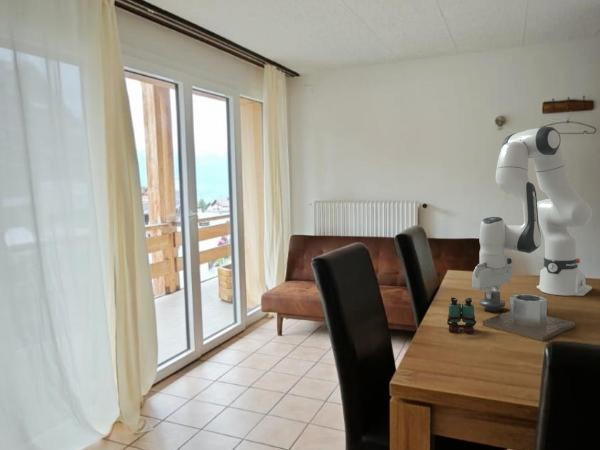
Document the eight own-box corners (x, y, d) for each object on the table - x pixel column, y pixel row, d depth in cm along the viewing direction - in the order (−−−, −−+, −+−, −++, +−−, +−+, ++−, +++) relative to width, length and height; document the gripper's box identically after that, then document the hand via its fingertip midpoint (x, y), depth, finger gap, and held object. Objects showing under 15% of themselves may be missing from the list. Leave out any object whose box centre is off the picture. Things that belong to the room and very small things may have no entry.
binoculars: (446, 306, 141) (447, 295, 151) (447, 337, 143) (447, 324, 153) (477, 307, 138) (475, 296, 148) (477, 339, 140) (475, 325, 150)
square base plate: (515, 313, 162) (515, 287, 161) (574, 326, 145) (575, 298, 144) (482, 325, 151) (482, 297, 150) (542, 341, 134) (542, 310, 133)
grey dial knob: (488, 304, 174) (488, 287, 173) (510, 309, 166) (510, 291, 165) (474, 309, 169) (474, 291, 168) (496, 314, 161) (496, 295, 160)
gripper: (483, 266, 157) (483, 304, 159) (515, 258, 168) (515, 294, 170) (467, 263, 162) (467, 300, 164) (499, 256, 174) (499, 291, 175)
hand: (492, 297), depth 167 cm, fingers closed on grey dial knob, 2 cm apart
